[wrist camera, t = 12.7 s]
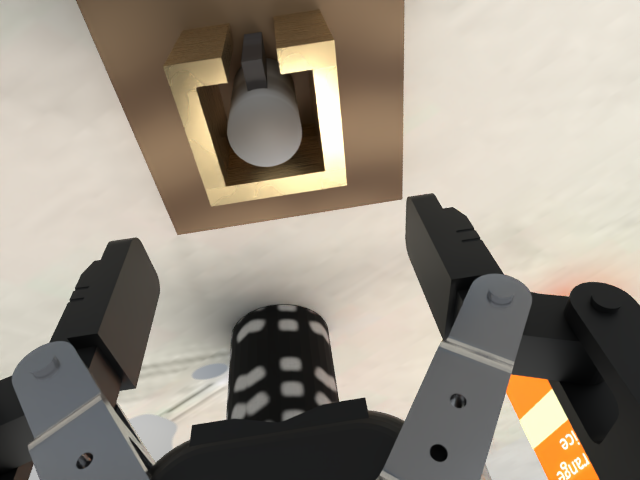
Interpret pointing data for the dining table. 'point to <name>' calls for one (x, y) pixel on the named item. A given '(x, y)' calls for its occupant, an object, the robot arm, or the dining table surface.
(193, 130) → the slotted square frame
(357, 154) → the shaft stand
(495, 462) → the dining table surface
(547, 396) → the orange juice
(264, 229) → the dining table surface
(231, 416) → the spotted tube
